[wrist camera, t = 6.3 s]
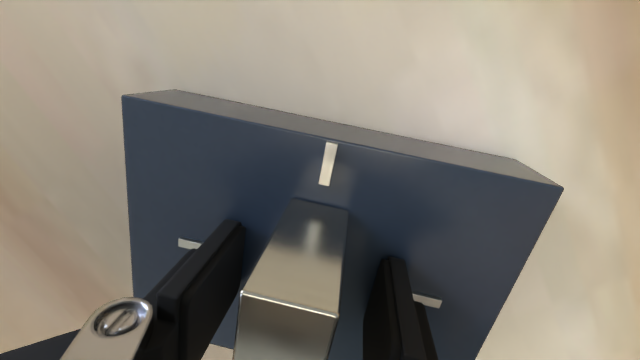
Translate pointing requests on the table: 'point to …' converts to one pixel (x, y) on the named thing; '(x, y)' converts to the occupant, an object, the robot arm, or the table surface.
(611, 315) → the table surface
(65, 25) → the table surface
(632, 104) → the table surface
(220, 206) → the console
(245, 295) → the knob
